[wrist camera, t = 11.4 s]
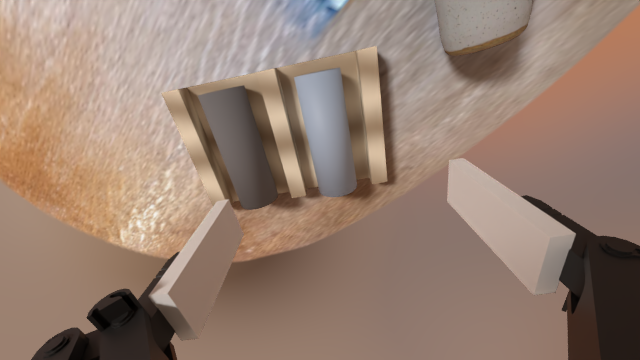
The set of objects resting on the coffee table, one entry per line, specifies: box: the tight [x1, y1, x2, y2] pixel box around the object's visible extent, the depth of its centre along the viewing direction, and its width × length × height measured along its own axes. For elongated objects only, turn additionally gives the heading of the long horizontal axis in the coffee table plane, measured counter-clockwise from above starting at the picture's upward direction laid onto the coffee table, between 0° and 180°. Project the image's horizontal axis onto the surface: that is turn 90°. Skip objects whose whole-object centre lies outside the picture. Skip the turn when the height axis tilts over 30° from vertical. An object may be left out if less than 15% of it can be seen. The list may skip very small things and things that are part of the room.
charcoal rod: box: [198, 85, 278, 210], centre depth 29 cm, size 14×5×5 cm
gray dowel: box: [294, 68, 357, 197], centre depth 29 cm, size 14×5×5 cm, turn 11°
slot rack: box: [162, 46, 387, 206], centre depth 31 cm, size 16×24×3 cm, turn 101°
